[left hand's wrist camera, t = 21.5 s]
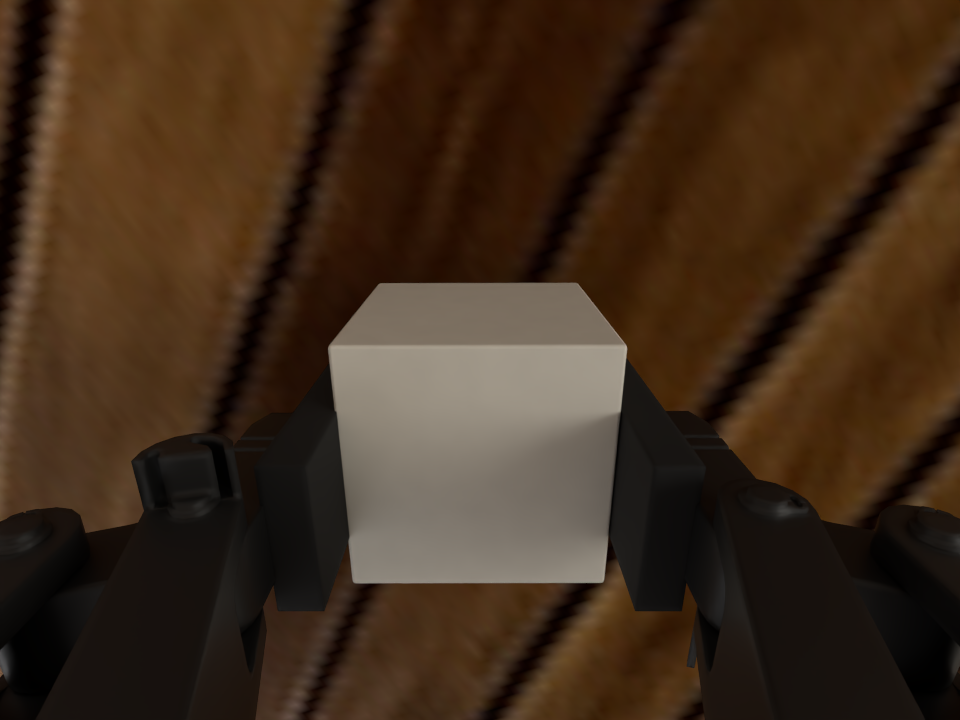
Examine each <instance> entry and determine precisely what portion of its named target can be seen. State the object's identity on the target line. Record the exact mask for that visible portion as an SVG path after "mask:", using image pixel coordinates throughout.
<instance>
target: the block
mask: <svg viewBox="0 0 960 720" xmlns="http://www.w3.org/2000/svg"><path fill="white" fill-rule="evenodd" d="M328 353H329V362H330V371H331V381H332V390H333V400H334V409H335V411H336V412H337V421H338V430H339V440H340V450H341V459H342V469H343V479H344V488H345V498H346V508H347V517H348V527H349V540H348V541H349V550H350V560H351V569H352V578H353V582H354V583H602V582H603V581H604V575H605V565H606V555H607V545H608V535H609V525H610V515H611V505H612V495H613V485H614V474H615V464H616V454H617V444H618V434H619V424H620V414H621V404H622V394H623V384H624V374H625V364H626V354H627V346H626V344H625V343H624V342H623V341H622V339H621V338H620V337H619V335H618V334H617V333H616V332H615V330H614V329H613V328H612V327H611V325H610V324H609V323H608V322H607V320H606V319H605V318H604V316H603V315H602V314H601V313H600V311H599V310H598V309H597V308H596V306H595V305H594V304H593V302H592V301H591V300H590V299H589V297H588V296H587V295H586V294H585V292H584V291H583V290H582V288H581V287H580V286H579V285H578V284H577V283H380V284H378V286H377V287H376V288H375V289H374V291H373V292H372V293H371V294H370V296H369V297H368V298H367V299H366V301H365V302H364V303H363V304H362V305H361V307H360V308H359V309H358V310H357V312H356V313H355V314H354V315H353V317H352V318H351V319H350V320H349V322H348V323H347V324H346V325H345V327H344V328H343V329H342V330H341V331H340V333H339V334H338V335H337V336H336V338H335V339H334V340H333V341H332V343H331V344H330V345H329V347H328Z"/></svg>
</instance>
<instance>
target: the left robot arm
mask: <svg viewBox="0 0 960 720" xmlns="http://www.w3.org/2000/svg"><path fill="white" fill-rule="evenodd" d="M131 462H132V466H133V470H134V474H135V478H136V482H137V485H138V489H139V493H140V497H141V501H142V505H143V508H144V512H143V514H142V516H141V518H140V520H139V522H138V523H135V524H131V525H126V526H121V527H116V528H110V529H105V530H100V531H95V532H89V533H85V529H84V526H83V523H82V520H81V517H80V515H79V514H78V513H76V512H75V511H74V510H72V509H66V508H58V507H55V508H47V509H35V510H30V511H26V513H23V512H22V513H19V514H15V515H12V516H10V517H9V518H7V519H6V520H3V521H1V522H0V667H1V670H2V672H3V675H2V676H1V677H0V720H255V717H256V709H257V702H258V694H259V686H260V679H261V671H262V663H263V655H264V648H265V640H266V632H267V629H266V622H265V616H264V611H263V605H264V603H265V601H266V599H267V597H268V595H269V593H270V591H271V589H272V587H273V584H274V590H275V596H276V602H277V608H278V611H324V610H325V607H326V605H327V602H328V599H329V596H330V593H331V590H332V587H333V584H334V581H335V578H336V575H337V572H338V570H339V567H340V564H341V561H342V558H343V555H344V552H345V549H346V546H347V543H348V540H349V527H348V517H347V508H346V498H345V488H344V479H343V469H342V459H341V450H340V440H339V430H338V421H337V412H336V411H335V409H334V400H333V390H332V381H331V371H330V363H329V364H328V366H327V367H326V369H325V370H324V371H323V373H322V374H321V375H320V377H319V378H318V379H317V381H316V382H315V384H314V385H313V386H312V388H311V389H310V390H309V392H308V393H307V394H306V396H305V397H304V399H303V400H302V401H301V403H300V404H299V405H298V407H297V408H296V409H295V411H294V412H293V413H271V414H269V415H267V416H266V417H264V418H262V419H260V420H259V421H257V422H255V423H254V424H252V425H251V426H250V427H249V429H248V430H247V431H246V432H245V433H244V434H243V436H242V437H241V440H238V441H237V443H236V444H235V445H234V446H233V441H232V440H230V439H229V438H227V437H226V436H224V435H219V434H214V433H194V434H189V435H183V436H178V437H174V438H171V439H168V440H165V441H162V442H159V443H156V444H154V445H153V446H151V447H149V448H147V449H145V450H143V451H142V452H140V453H139V454H138V455H137V456H136V457H135V458H134V459H133V460H132V461H131ZM609 536H610V539H611V541H612V544H613V547H614V550H615V553H616V556H617V559H618V562H619V565H620V568H621V571H622V574H623V577H624V579H625V582H626V585H627V588H628V591H629V594H630V597H631V600H632V603H633V606H634V609H635V611H682V606H683V600H684V594H685V588H686V583H687V585H688V587H689V589H690V591H691V593H692V595H693V597H694V599H695V601H696V603H697V611H696V616H695V622H694V627H693V633H692V638H691V644H690V649H689V655H688V661H687V667H691V668H694V666H695V661H696V657H697V662H698V670H699V677H700V685H701V693H702V700H703V708H704V716H705V720H960V674H959V673H958V672H957V671H958V668H959V666H960V519H959V518H956V517H954V516H953V515H951V514H950V513H947V512H944V511H941V510H938V509H937V511H936V510H934V508H929V507H924V506H921V507H919V506H910V505H898V506H890V507H887V508H886V509H885V510H883V511H882V512H880V515H879V518H878V521H877V525H876V528H875V531H873V530H868V529H863V528H857V527H852V526H847V525H841V524H836V523H831V522H827V521H823V520H821V519H820V517H819V515H818V513H817V511H816V510H815V509H814V507H813V506H812V505H811V504H810V503H809V502H808V500H806V499H805V498H803V497H802V496H800V495H799V494H797V493H796V492H794V491H793V490H790V489H788V488H785V487H783V486H780V485H778V484H776V483H772V482H767V481H763V480H758V479H756V478H755V477H754V476H753V474H752V473H751V472H750V471H749V470H748V469H747V467H746V466H745V465H744V464H743V463H742V462H741V460H740V459H739V458H738V457H737V456H736V455H735V454H734V452H733V451H732V450H729V447H728V445H727V444H726V443H725V442H724V441H723V440H722V438H719V435H718V434H717V433H716V431H715V430H714V429H713V428H712V427H711V426H710V425H709V423H708V422H706V421H704V420H703V419H701V418H699V417H697V416H696V415H694V414H692V413H690V412H689V411H665V410H664V409H663V407H662V406H661V405H660V403H659V402H658V400H657V399H656V398H655V396H654V395H653V394H652V392H651V391H650V390H649V388H648V387H647V385H646V384H645V383H644V381H643V380H642V379H641V377H640V376H639V375H638V373H637V372H636V370H635V369H634V368H633V366H632V365H631V364H630V362H629V361H628V360H627V358H626V364H625V374H624V384H623V394H622V404H621V414H620V424H619V434H618V444H617V454H616V464H615V474H614V485H613V495H612V505H611V515H610V525H609Z"/></svg>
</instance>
